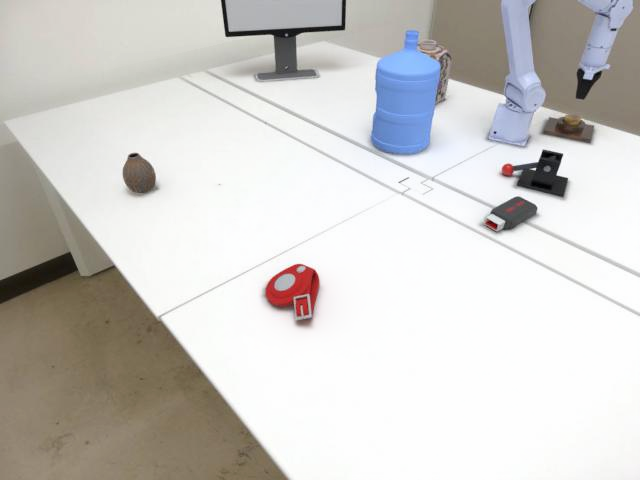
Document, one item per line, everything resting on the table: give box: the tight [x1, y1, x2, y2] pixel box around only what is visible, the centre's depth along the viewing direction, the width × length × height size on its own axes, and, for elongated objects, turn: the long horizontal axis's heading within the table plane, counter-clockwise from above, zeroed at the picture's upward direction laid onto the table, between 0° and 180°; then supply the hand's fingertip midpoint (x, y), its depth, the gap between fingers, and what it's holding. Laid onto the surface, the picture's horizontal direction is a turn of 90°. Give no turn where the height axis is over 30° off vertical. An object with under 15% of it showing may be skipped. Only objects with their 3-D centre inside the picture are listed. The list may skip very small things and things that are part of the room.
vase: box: [122, 152, 157, 195], centre depth 103 cm, size 7×7×9 cm
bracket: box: [516, 149, 569, 198], centre depth 104 cm, size 10×8×7 cm
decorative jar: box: [417, 39, 453, 105], centre depth 141 cm, size 12×12×18 cm
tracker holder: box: [265, 263, 320, 321], centre depth 77 cm, size 12×4×10 cm
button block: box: [542, 116, 595, 144], centre depth 127 cm, size 12×10×3 cm
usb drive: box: [483, 195, 538, 232], centre depth 95 cm, size 5×12×3 cm, turn 126°
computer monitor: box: [220, 0, 347, 83], centre depth 153 cm, size 41×8×40 cm, turn 102°
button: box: [563, 113, 582, 125], centre depth 126 cm, size 4×4×2 cm
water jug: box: [370, 29, 441, 155], centre depth 115 cm, size 16×16×28 cm
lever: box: [501, 155, 556, 176], centre depth 106 cm, size 12×3×3 cm, turn 61°
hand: (580, 98), depth 122 cm, fingers closed
